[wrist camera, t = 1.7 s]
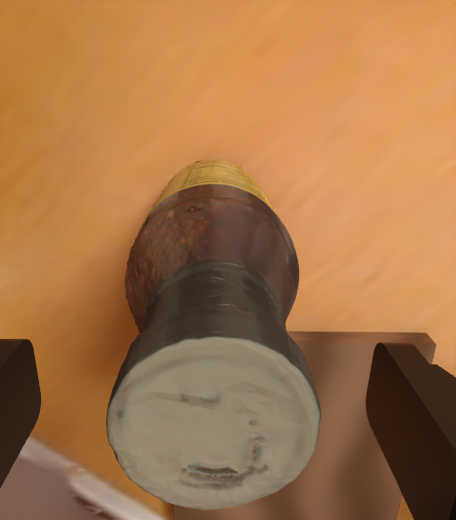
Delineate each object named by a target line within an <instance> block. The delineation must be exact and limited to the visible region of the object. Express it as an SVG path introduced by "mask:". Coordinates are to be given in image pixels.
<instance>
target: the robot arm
mask: <svg viewBox="0 0 456 520" xmlns="http://www.w3.org/2000/svg"><path fill="white" fill-rule="evenodd" d="M40 407H41V392H40V386H39V380H38V374H37V368H36V362H35V355H34V349H33V346H32V343H31V342H30V340H28V339H0V488H1V486H2V484H3V482H4V480H5V479H6V477H7V475H8V473H9V471H10V469H11V468H12V466H13V464H14V462H15V460H16V459H17V457H18V455H19V453H20V451H21V450H22V448H23V446H24V444H25V442H26V440H27V439H28V437H29V435H30V433H31V431H32V430H33V428H34V426H35V424H36V422H37V419H38V416H39V413H40ZM366 413H367V418H368V421H369V424H370V426H371V429H372V431H373V433H374V435H375V437H376V439H377V441H378V444H379V446H380V448H381V450H382V452H383V454H384V456H385V458H386V461H387V463H388V465H389V467H390V469H391V471H392V473H393V475H394V478H395V480H396V482H397V484H398V486H399V488H400V490H401V493H402V495H403V497H404V499H405V501H406V503H407V505H408V507H409V510H410V512H411V514H412V516H413V518H414V520H456V377H454V376H453V375H451V374H450V373H448V372H447V371H445V370H444V369H442V368H441V367H439V366H438V365H436V364H429V363H428V361H427V360H426V359H425V358H424V356H423V355H422V354H421V353H420V351H419V350H418V349H417V348H416V346H415V345H414V344H412V343H377V345H376V346H375V349H374V352H373V358H372V364H371V370H370V376H369V381H368V387H367V393H366Z"/></svg>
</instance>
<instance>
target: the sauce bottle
mask: <svg viewBox="0 0 456 520" xmlns="http://www.w3.org/2000/svg"><path fill="white" fill-rule="evenodd" d="M298 284H299V265H298V258H297V254H296V251H295V248H294V244H293V241H292V239H291V237H290V235H289V233H288V231H287V229H286V227H285V226H284V224H283V223H282V221H281V219H280V218H279V216H278V215H277V213H276V212H275V211H274V209H273V208H272V206H271V204H270V203H269V201H268V200H267V198H266V196H265V195H264V193H263V191H262V190H261V188H260V186H259V185H258V183H257V182H256V181H255V180H254V178H253V177H252V176H251V175H250V174H249V173H247V172H246V171H245V170H244V169H242V168H241V167H239V166H237V165H235V164H233V163H230V162H227V161H224V160H206V161H198V162H196V163H194V164H192V165H189V166H187V167H186V168H184V169H183V170H181V171H180V172H178V173H177V174H176V175H175V176H174V177H173V178H172V179H171V181H170V182H169V183H168V185H167V187H166V188H165V190H164V191H163V193H162V194H161V196H160V197H159V199H158V201H157V202H156V204H155V205H154V207H153V208H152V210H151V211H150V213H149V215H148V217H147V219H146V220H145V222H144V224H143V225H142V227H141V229H140V231H139V233H138V236H137V238H136V240H135V243H134V245H133V246H132V248H131V251H130V255H129V259H128V262H127V270H126V276H125V288H126V298H127V300H128V304H129V307H130V310H131V313H132V315H133V317H134V319H135V323H136V325H137V326H138V329H139V332H140V333H141V334H140V335H139V336H137V338H136V340H135V341H134V342H133V343H132V344H131V346H130V348H129V351H128V353H127V356H126V358H125V361H124V362H123V364H122V366H121V368H120V371H119V374H118V377H117V380H116V382H115V384H114V387H113V390H112V393H111V397H110V401H109V404H108V409H107V418H106V427H107V436H108V440H109V444H110V446H111V447H112V449H113V450H114V453H115V456H116V459H117V461H118V463H119V464H120V466H121V467H122V469H123V470H124V472H125V473H126V475H127V476H128V477H129V479H131V480H132V481H133V482H134V483H136V484H137V485H138V486H139V487H141V488H142V489H143V490H145V491H147V492H148V493H150V494H152V495H153V496H155V497H157V498H159V499H161V500H162V501H164V502H166V503H170V504H174V505H178V506H182V507H186V508H194V509H200V510H215V509H222V508H231V507H236V506H240V505H245V504H247V503H250V502H252V501H255V500H257V499H260V498H262V497H265V496H268V495H270V494H273V493H276V492H278V491H279V490H280V489H281V488H283V487H284V486H285V485H287V484H288V483H290V482H292V481H293V480H294V479H295V478H296V477H297V476H298V475H299V474H300V473H301V471H302V470H303V469H304V468H305V466H306V465H307V464H308V462H309V460H310V458H311V456H312V454H313V452H314V450H315V448H316V444H317V439H318V434H319V424H320V419H321V408H320V402H319V399H318V395H317V392H316V389H315V386H314V382H313V378H312V374H311V372H310V370H309V368H308V364H307V361H306V359H305V356H304V354H303V352H302V350H301V349H300V347H299V346H298V345H297V344H296V343H295V342H294V340H293V339H292V338H291V337H290V336H289V335H288V333H287V331H286V326H285V322H286V320H287V317H288V315H289V313H290V311H291V309H292V306H293V304H294V301H295V298H296V295H297V290H298Z"/></svg>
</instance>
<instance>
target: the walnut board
mask: <svg viewBox="0 0 456 520" xmlns="http://www.w3.org/2000/svg"><path fill="white" fill-rule="evenodd" d="M287 333H288V335H289V336H290V337H291V338H292V339H293V340H294V342H295V343H296V344H297V345H298V346H299V347H300V349H301V350H302V352H303V354H304V356H305V359H306V361H307V364H308V368H309V370H310V372H311V374H312V378H313V382H314V386H315V389H316V392H317V395H318V399H319V402H320V408H321V419H320V424H319V434H318V439H317V444H316V448H315V450H314V452H313V454H312V456H311V458H310V460H309V462H308V464H307V465H306V466H305V468H304V469H303V470H302V471H301V473H300V474H299V475H298V476H297V477H296V478H295V479H294V480H293V481H292V482H290V483H288V484H287V485H285V486H284V487H283V488H281V489H280V490H279V491H278V492H276V493H273V494H270V495H268V496H265V497H262V498H260V499H257V500H255V501H252V502H250V503H247V504H245V505H240V506H236V507H231V508H222V509H215V510H200V509H194V508H186V507H182V506H178V505H174V520H396V519H397V514H398V510H399V506H400V501H401V497H402V493H401V490H400V488H399V486H398V484H397V482H396V480H395V478H394V475H393V473H392V471H391V469H390V467H389V465H388V463H387V461H386V458H385V456H384V454H383V452H382V450H381V448H380V446H379V444H378V441H377V439H376V437H375V435H374V433H373V431H372V429H371V426H370V424H369V421H368V418H367V413H366V393H367V387H368V381H369V376H370V370H371V364H372V358H373V352H374V349H375V346H376V345H377V343H412V344H414V345H415V346H416V348H417V349H418V350H419V351H420V353H421V354H422V355H423V356H424V358H425V359H426V360H427V361H428V363H429V364H432V361H433V357H434V352H435V348H436V344H435V342H434V341H433V340H432V339H431V338H430V337H429V336H428V334H427V333H381V332H287Z"/></svg>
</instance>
